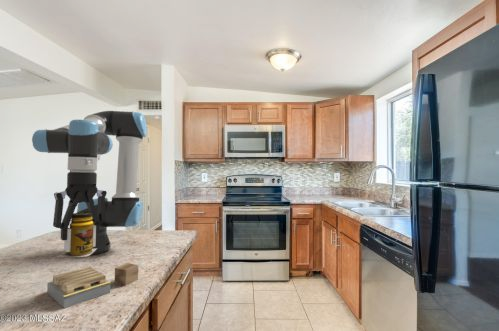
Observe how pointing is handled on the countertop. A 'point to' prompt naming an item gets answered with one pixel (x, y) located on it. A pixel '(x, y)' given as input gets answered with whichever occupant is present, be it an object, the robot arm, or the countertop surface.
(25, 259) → the countertop surface
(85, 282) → the pallet
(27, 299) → the countertop surface
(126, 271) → the brown cube
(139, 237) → the countertop surface
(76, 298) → the dock
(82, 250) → the condiment
